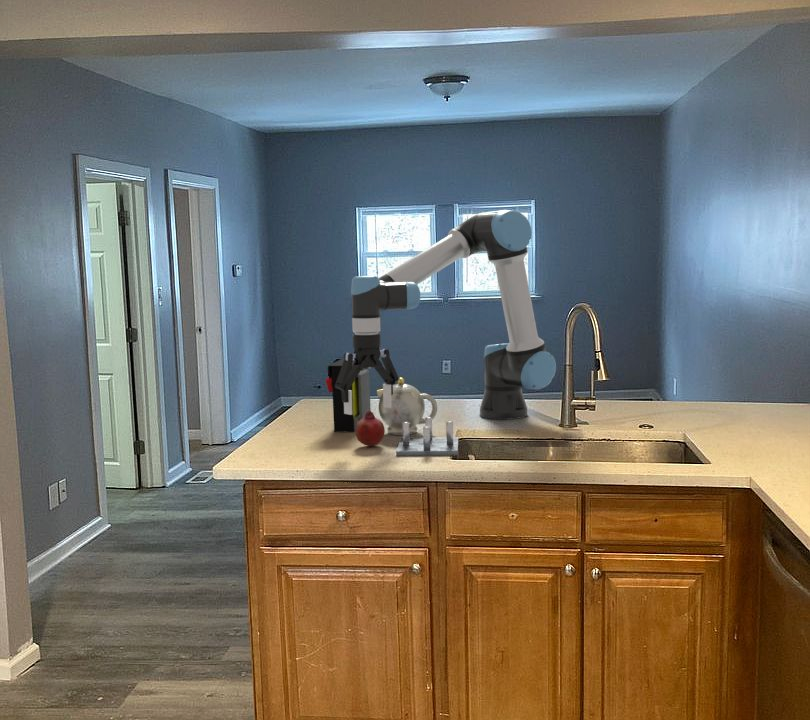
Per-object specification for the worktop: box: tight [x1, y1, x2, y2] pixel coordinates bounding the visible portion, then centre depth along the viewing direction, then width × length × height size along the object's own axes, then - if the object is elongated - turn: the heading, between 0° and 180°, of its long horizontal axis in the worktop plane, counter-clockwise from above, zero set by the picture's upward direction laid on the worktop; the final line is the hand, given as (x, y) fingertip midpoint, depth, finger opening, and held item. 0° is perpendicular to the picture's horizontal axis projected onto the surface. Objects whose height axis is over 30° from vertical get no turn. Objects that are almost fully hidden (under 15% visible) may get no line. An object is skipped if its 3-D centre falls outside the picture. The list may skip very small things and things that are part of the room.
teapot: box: [376, 377, 438, 436], centre depth 248 cm, size 18×14×16 cm
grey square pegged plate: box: [395, 416, 459, 457], centre depth 228 cm, size 16×16×7 cm
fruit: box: [355, 410, 386, 448], centre depth 232 cm, size 8×8×10 cm
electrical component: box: [325, 357, 374, 433], centre depth 260 cm, size 18×10×20 cm, turn 168°
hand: (368, 410), depth 231 cm, fingers open, 13 cm apart
